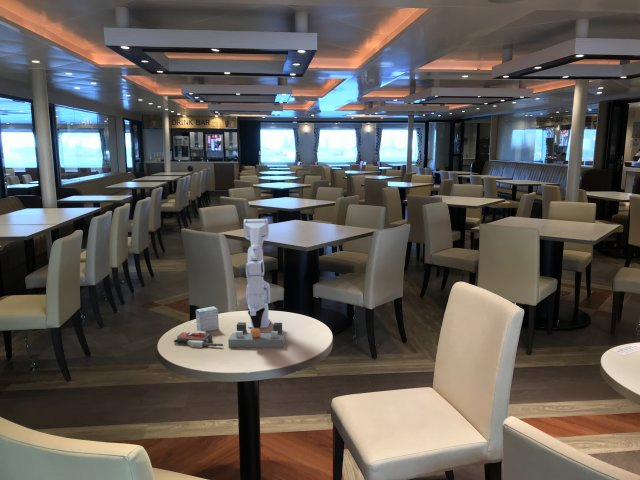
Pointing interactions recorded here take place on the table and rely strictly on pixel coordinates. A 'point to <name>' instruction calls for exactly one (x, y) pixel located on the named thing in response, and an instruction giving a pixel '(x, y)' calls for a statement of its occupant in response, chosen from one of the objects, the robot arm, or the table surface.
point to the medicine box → (207, 319)
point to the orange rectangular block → (255, 333)
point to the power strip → (257, 340)
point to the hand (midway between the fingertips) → (257, 328)
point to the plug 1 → (241, 327)
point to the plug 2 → (277, 327)
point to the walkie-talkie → (195, 339)
